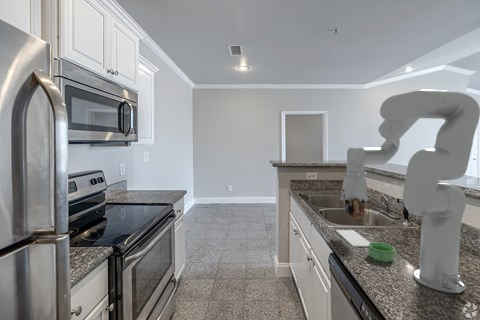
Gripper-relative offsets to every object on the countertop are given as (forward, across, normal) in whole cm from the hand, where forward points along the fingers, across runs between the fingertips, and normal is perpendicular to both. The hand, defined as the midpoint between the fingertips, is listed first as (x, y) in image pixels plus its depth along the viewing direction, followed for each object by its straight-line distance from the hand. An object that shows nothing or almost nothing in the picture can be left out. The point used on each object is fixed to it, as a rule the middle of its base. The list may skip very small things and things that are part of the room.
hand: (353, 213), depth 118 cm
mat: (+12, 0, 0) cm, 12 cm away
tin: (+2, 0, 0) cm, 2 cm away
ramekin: (+12, -2, +20) cm, 24 cm away
